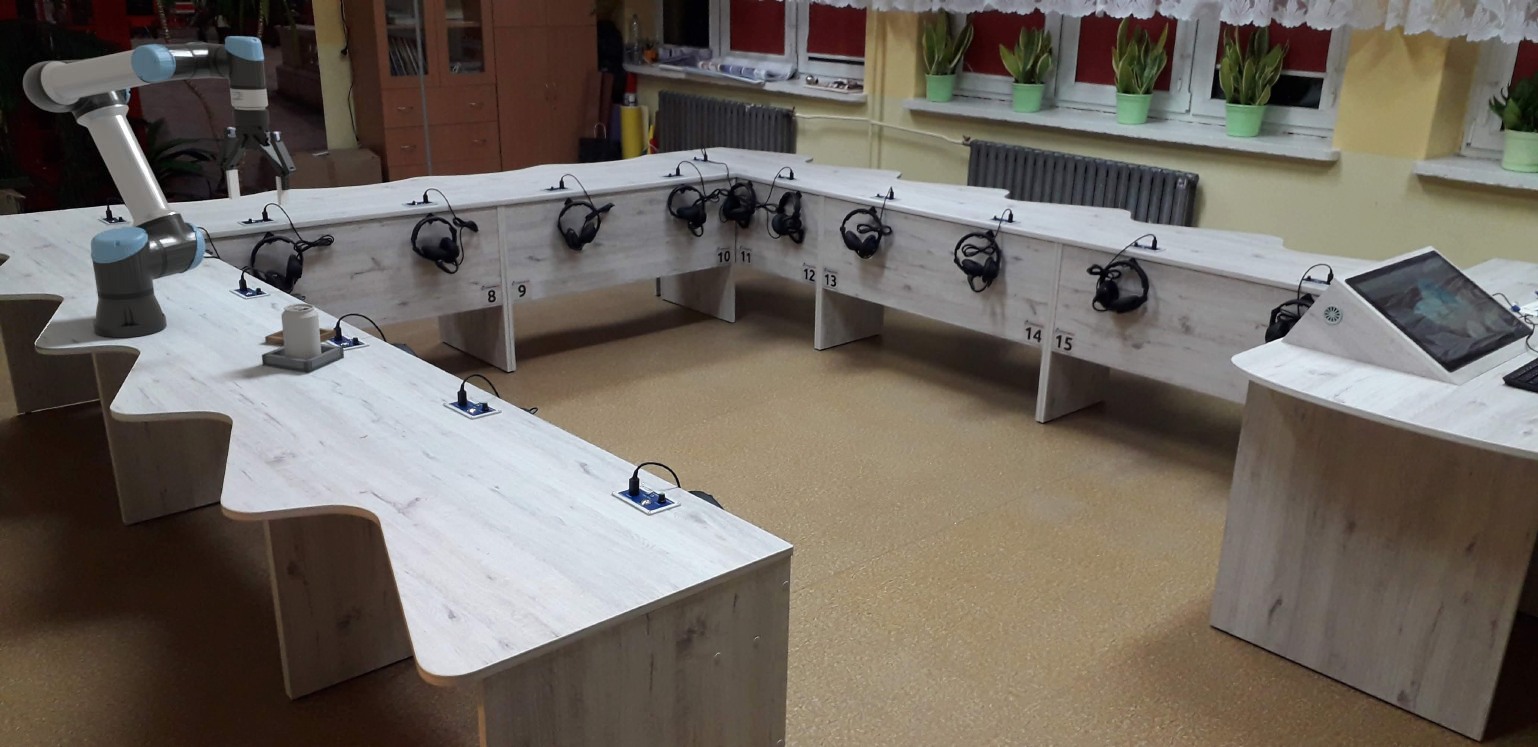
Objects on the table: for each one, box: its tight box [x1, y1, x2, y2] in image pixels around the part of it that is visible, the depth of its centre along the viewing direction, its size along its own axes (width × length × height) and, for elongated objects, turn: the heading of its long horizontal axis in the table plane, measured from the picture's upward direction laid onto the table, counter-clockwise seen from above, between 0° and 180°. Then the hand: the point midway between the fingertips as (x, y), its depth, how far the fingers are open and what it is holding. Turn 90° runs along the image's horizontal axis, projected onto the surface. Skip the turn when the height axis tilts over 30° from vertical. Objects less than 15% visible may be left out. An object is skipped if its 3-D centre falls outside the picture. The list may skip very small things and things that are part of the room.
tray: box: [261, 343, 345, 374], centre depth 249 cm, size 12×12×2 cm
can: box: [280, 303, 322, 360], centre depth 248 cm, size 8×8×12 cm
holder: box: [264, 327, 337, 347], centre depth 264 cm, size 11×11×2 cm
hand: (259, 201), depth 259 cm, fingers open, 13 cm apart
